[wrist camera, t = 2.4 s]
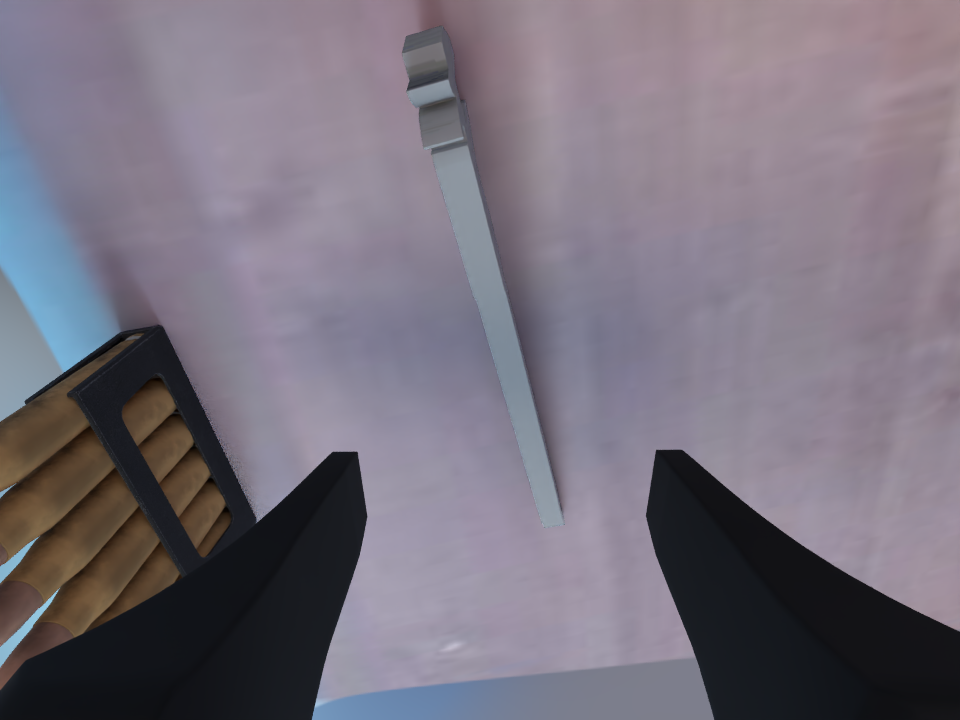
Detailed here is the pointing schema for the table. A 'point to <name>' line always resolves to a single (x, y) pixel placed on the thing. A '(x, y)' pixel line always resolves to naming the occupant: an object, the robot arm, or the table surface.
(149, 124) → the table surface
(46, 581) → the ammunition clip
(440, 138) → the caliper
